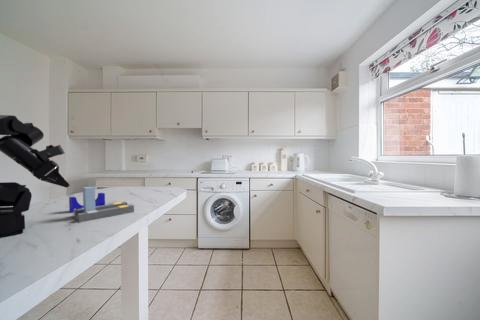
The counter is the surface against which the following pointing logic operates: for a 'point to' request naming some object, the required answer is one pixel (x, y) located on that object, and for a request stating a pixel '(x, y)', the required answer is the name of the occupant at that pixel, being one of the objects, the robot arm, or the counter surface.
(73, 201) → the cable clip
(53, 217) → the counter surface
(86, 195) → the tab
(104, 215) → the switch housing
